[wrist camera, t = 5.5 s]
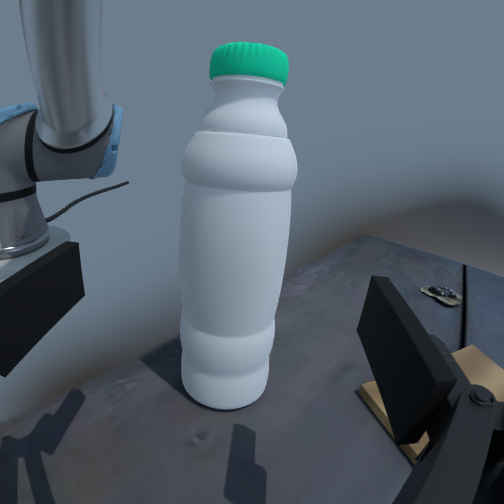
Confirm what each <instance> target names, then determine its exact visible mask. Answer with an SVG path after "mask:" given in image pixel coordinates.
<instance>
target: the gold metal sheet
mask: <svg viewBox="0 0 504 504" xmlns="http://www.w3.org/2000/svg"><path fill="white" fill-rule="evenodd" d="M451 354H452V355H453V357H454V358H455V361H457V363H458V364H459V366H460V367H461V369H462V370H463V372H464V374H465V375H466V377H467V378H468V380H469V381H470V383H471V384H477V385H481V386H483V387H485V388H487V389H489V390H490V391H491V392H492V393H493V394H494V396H495V398H496V400H497V401H500V402H504V370H503V369H502V368H501V367H499V366H498V365H497V364H496V363H495V362H493V361H492V360H491V359H490V358H489V357H487V356H486V355H485V354H484V353H482V352H481V351H480V350H479V349H477V348H476V347H475V346H474V345H470V346H468V347H465V348H463V349H461V350H458V351H456V352H454V353H451ZM358 393H359V394H360V395H361V397H362V398H363V399H364V401H365V402H366V403H367V404H368V406H369V407H370V408H371V410H372V411H373V412H374V413H375V415H376V416H377V417H378V419H379V420H380V421H381V423H382V424H383V425H384V426H385V428H386V429H387V430H388V432H389V433H390V434H391V435H392V437H393V438H394V435H393V432H392V428H391V425H390V422H389V419H388V416H387V413H386V410H385V407H384V404H383V401H382V398H381V395H380V392H379V389H378V387H377V384H376V381H371V382H368V383H364V384H361V386H360V388H359V391H358ZM394 439H395V438H394ZM428 441H429V437H428V435H427V432H425V433H424V435H423V436H422V437H421V439H420V440H419V442H418V443H414V444H407V445H399V446H400V447H401V448H402V450H403V451H404V452H405V454H406V455H407V456H408V457H409V459H410V460H411V461H412V463H413V464H414V465H415V464H416V462H417V461H416V460H415V458H416V457H417V456H418V455H419V453H420V452H421V451H422V449H423V448H424V447H425V445H426V444H427V443H428Z"/></svg>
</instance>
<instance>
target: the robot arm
mask: <svg viewBox="0 0 504 504" xmlns="http://www.w3.org/2000/svg"><path fill="white" fill-rule="evenodd" d="M19 5H20V13H21V20H22V27H23V33H24V39H25V45H26V50H27V55H28V60H29V64H30V69H31V73H32V78H33V82H34V86H35V90H36V94H37V97H38V101H39V105H40V109H39V111H38V107H37V105H36V104H35V103H23V104H19V105H12V106H7V107H4V108H1V109H0V260H7V259H12V258H17V257H21V256H24V255H27V254H30V253H32V252H34V251H36V250H38V249H40V248H42V247H43V246H45V245H46V244H47V243H48V241H49V239H50V237H49V227H48V225H47V222H50V221H52V220H54V219H55V218H57V217H58V216H60V215H61V214H63V213H64V212H66V211H67V210H68V209H69V208H71V207H72V206H74V205H75V204H77V203H79V202H80V201H82V200H85V199H87V198H89V197H91V196H94V195H97V194H100V193H103V192H106V191H109V190H112V189H115V188H118V187H121V186H124V185H126V184H128V183H129V182H128V181H127V182H124V183H121V184H118V185H115V186H112V187H108V188H105V189H102V190H99V191H96V192H93V193H90V194H88V195H85V196H83V197H81V198H79V199H77V200H75V201H73V202H72V203H70V204H69V205H67V206H66V207H65V208H63V209H62V210H60V211H59V212H57V213H56V214H54V215H52V216H50V217H48V218H44V215H43V213H42V210H41V208H40V205H39V202H38V199H37V195H36V182H40V181H52V180H66V179H83V178H89V179H95V178H98V177H107V176H110V175H111V174H112V173H113V172H114V170H115V166H116V161H117V154H118V145H119V140H120V132H121V123H122V108H121V107H120V106H116V105H112V103H111V100H110V97H109V96H108V95H107V94H106V93H105V92H104V91H103V90H102V89H101V64H100V63H101V57H100V56H101V24H102V7H103V0H19ZM84 296H85V292H84V286H83V278H82V270H81V261H80V252H79V243H77V242H70V241H65V242H64V243H62V244H60V245H59V246H57V247H55V248H54V249H52V250H51V251H49V252H47V253H46V254H44V255H43V256H41V257H39V258H38V259H36V260H35V261H33V262H31V263H30V264H28V265H27V266H25V267H24V268H22V269H21V270H19V271H18V272H16V273H15V274H13V275H12V276H10V277H9V278H7V279H6V280H4V281H3V282H1V283H0V375H1V376H3V377H6V376H7V375H8V374H9V373H10V372H11V371H12V369H13V368H14V367H15V366H16V365H17V364H18V363H19V362H20V361H21V360H22V359H23V358H24V356H25V355H26V354H27V353H28V352H29V351H30V350H31V349H32V348H33V347H34V346H35V345H36V344H37V343H38V342H39V340H41V338H42V337H43V336H44V335H45V334H46V333H47V332H48V331H49V330H50V329H51V328H52V327H53V326H54V325H55V324H56V323H57V322H58V321H59V320H60V319H61V318H62V317H63V316H64V315H65V314H66V313H67V312H68V311H69V310H70V309H71V308H72V307H73V306H74V305H75V304H76V303H77V302H79V301H80V300H81V298H83V297H84ZM357 332H358V335H359V337H360V340H361V343H362V345H363V348H364V351H365V353H366V356H367V359H368V361H369V364H370V367H371V370H372V372H373V375H374V378H375V381H376V384H377V387H378V389H379V392H380V395H381V398H382V401H383V404H384V407H385V410H386V413H387V416H388V419H389V422H390V425H391V428H392V432H393V435H394V438H395V441H396V444H397V446H398V445H407V444H414V443H418V442H419V440H420V439H421V437H422V436H423V435H424V433H425V432H427V435H428V437H429V441H428V443H427V444H426V445H425V447H424V448H423V449H422V451H421V452H420V453H419V455H418V456H417V457H416V458H415V460H416V461H417V462H416V464H415V466H414V468H413V470H412V472H411V473H410V475H409V477H408V479H407V480H406V482H405V484H404V485H403V487H402V489H401V490H400V492H399V494H398V495H397V497H396V498H395V500H394V502H393V503H392V504H504V402H500V401H497V400H496V398H495V396H494V394H493V393H492V392H491V391H490V390H489V389H487V388H485V387H483V386H481V385H477V384H471V383H470V381H469V380H468V378H467V377H466V375H465V374H464V372H463V370H462V369H461V367H460V366H459V364H458V363H457V361H455V358H454V357H453V355H452V354H450V351H449V350H448V348H447V347H446V345H445V344H444V343H443V342H442V341H441V340H440V339H438V338H437V337H436V336H435V335H428V333H427V332H426V330H425V329H424V327H423V326H422V324H421V323H420V321H419V320H418V318H417V317H416V316H415V314H414V313H413V311H412V310H411V308H410V307H409V306H408V304H407V303H406V301H405V300H404V299H403V297H402V296H401V295H400V293H399V292H398V290H397V289H396V288H395V286H394V285H393V284H392V282H391V281H390V280H389V278H388V277H380V276H372V277H371V280H370V284H369V288H368V292H367V296H366V299H365V303H364V307H363V310H362V314H361V317H360V321H359V324H358V327H357Z"/></svg>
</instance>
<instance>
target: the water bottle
mask: <svg viewBox="0 0 504 504" xmlns="http://www.w3.org/2000/svg"><path fill="white" fill-rule="evenodd" d="M288 70H289V63H288V58H287V56H286V54H285V53H284V52H283V51H281V50H279V49H277V48H275V47H272V46H269V45H264V44H259V43H252V42H251V43H248V42H234V43H228V44H225V45H222V46H219V47H218V48H216V50H215V51H214V52H213V54H212V57H211V62H210V79H211V80H212V82H211V83H210V85H211V86H212V87H213V89H214V91H215V97H214V101H213V103H212V105H211V106H210V108H209V109H208V110H207V112H206V113H205V114H204V116H203V117H202V119H201V121H200V124H199V131H197V132H195V134H194V135H193V137H192V138H191V140H190V142H189V144H188V145H187V147H186V150H185V152H184V155H183V160H182V172H183V175H184V178H185V185H184V191H183V199H182V206H181V218H180V239H179V277H180V294H181V303H182V314H181V319H180V339H181V345H182V349H183V351H182V359H181V374H182V382H183V385H184V387H185V389H186V391H187V392H188V394H189V395H190V396H191V397H192V398H194V399H195V400H196V401H198V402H199V403H201V404H203V405H206V406H209V407H212V408H216V409H236V408H241V407H244V406H247V405H249V404H251V403H253V402H254V401H256V400H257V399H258V398H259V397H260V396H261V395H262V393H263V391H264V390H265V387H266V383H267V378H268V371H269V354H270V352H271V349H272V345H273V340H274V333H275V319H274V315H275V312H276V308H277V305H278V300H279V296H280V291H281V286H282V280H283V274H284V267H285V261H286V254H287V246H288V236H289V228H290V214H291V188H292V186H293V185H294V182H295V180H296V176H297V160H296V156H295V153H294V150H293V147H292V144H291V142H290V140H289V139H287V127H286V124H285V122H284V120H283V118H282V116H281V114H280V112H279V109H278V104H277V101H278V97H279V95H280V94H281V93H282V92H283V91H284V87H283V86H285V84H286V82H287V78H288Z"/></svg>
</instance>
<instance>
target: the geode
mask: <svg viewBox="0 0 504 504" xmlns="http://www.w3.org/2000/svg"><path fill="white" fill-rule="evenodd" d="M420 290H421V292H425V293H426V294H428V295H430V296H433V297H437V298H438V299H440V300H442V302H443V303H446V304H447V305H448V304H449V305H457V303H458V304H461V303H462V302H461V301H462V300H461V298H462V296H460V295H459V294H457V293H455V292H454V291H453V290H451V289H450V288H447V286H438V287H435V286H430V287H426V286H423V287H421V288H420Z"/></svg>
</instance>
